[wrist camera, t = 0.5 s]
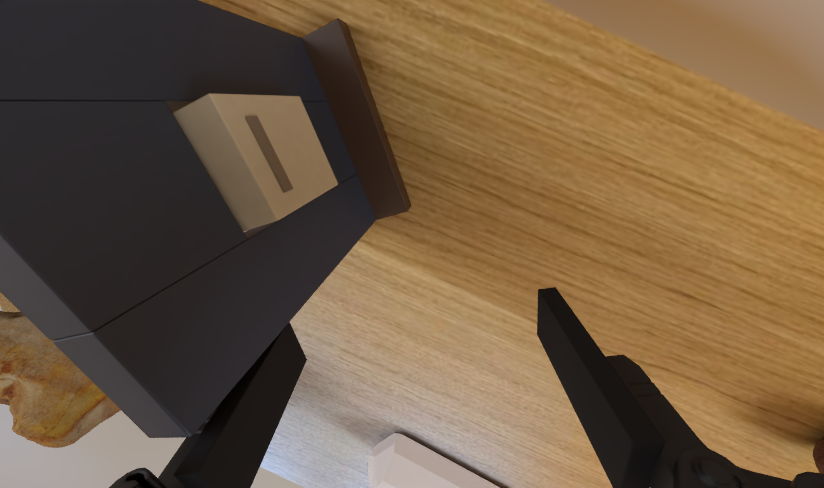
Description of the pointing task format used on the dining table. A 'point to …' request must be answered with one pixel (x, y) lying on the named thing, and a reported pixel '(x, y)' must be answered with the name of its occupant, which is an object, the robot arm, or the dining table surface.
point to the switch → (258, 153)
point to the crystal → (416, 467)
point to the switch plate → (168, 193)
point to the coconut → (819, 455)
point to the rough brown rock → (46, 387)
